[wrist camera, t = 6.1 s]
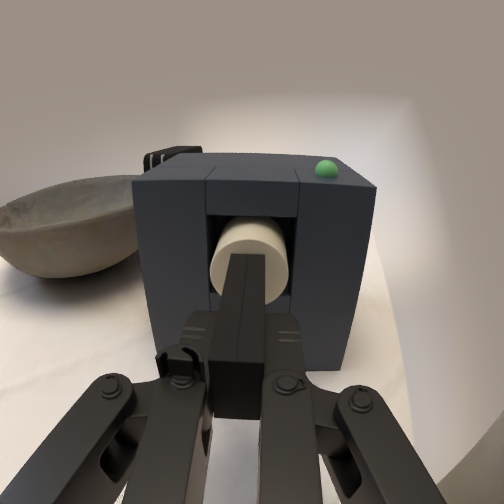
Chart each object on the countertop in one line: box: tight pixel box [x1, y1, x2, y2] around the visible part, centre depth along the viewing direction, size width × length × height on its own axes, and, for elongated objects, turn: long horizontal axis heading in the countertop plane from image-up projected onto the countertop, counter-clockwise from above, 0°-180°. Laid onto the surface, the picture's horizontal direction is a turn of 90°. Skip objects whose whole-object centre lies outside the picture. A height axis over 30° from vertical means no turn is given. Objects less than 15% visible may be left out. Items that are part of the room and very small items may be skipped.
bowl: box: [0, 175, 140, 278], centre depth 31 cm, size 21×21×8 cm
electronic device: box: [143, 146, 203, 173], centre depth 44 cm, size 4×10×10 cm, turn 164°
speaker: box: [131, 153, 377, 370], centre depth 21 cm, size 10×12×13 cm
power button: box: [210, 216, 289, 305], centre depth 16 cm, size 4×4×4 cm
